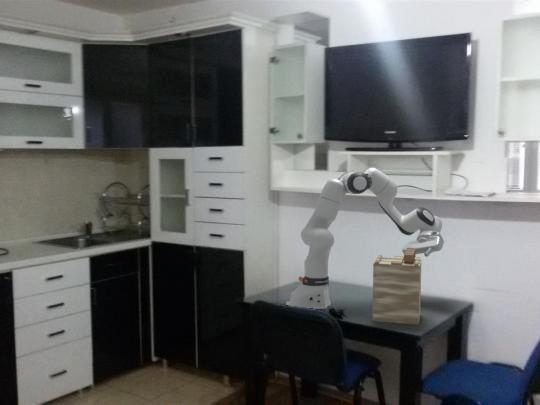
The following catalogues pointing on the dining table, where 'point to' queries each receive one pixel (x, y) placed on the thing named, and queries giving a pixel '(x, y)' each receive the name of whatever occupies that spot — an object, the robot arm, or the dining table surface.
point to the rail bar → (409, 255)
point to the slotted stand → (396, 290)
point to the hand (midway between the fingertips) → (417, 256)
